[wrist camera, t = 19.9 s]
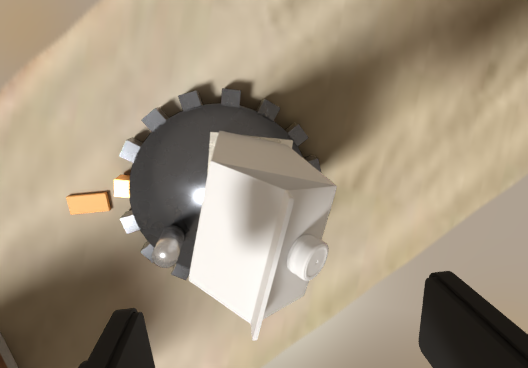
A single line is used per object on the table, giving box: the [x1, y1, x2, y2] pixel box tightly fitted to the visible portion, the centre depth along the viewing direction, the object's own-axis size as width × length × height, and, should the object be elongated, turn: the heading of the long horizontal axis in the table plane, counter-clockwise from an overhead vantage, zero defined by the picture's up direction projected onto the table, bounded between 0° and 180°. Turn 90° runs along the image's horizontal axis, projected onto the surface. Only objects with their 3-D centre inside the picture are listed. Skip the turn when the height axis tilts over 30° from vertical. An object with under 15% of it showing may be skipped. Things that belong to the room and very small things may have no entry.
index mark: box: [66, 192, 111, 215], centre depth 33 cm, size 4×2×1 cm, turn 94°
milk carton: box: [189, 131, 337, 341], centre depth 22 cm, size 7×7×19 cm
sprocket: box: [114, 88, 321, 280], centre depth 31 cm, size 22×22×6 cm
